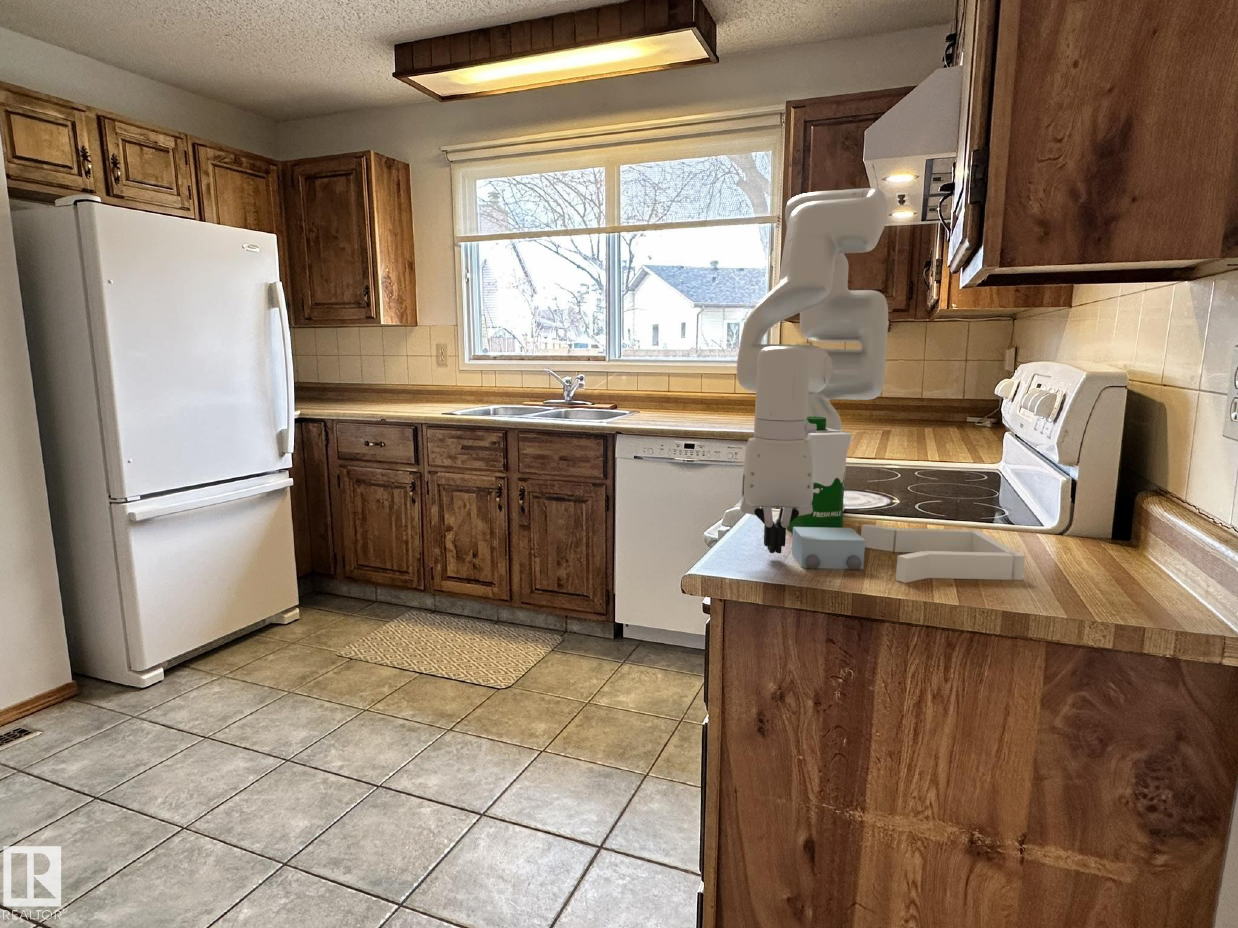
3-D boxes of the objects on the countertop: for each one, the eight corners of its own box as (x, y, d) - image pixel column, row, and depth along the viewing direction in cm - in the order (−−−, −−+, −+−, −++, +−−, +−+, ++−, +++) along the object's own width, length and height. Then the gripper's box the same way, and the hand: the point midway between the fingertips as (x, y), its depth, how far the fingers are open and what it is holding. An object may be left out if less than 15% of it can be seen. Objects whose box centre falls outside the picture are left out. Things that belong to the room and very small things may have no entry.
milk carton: (822, 525, 127) (829, 415, 123) (851, 538, 118) (859, 421, 115) (779, 528, 124) (784, 416, 121) (805, 541, 116) (812, 422, 112)
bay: (857, 544, 114) (859, 523, 114) (968, 546, 114) (970, 525, 113) (899, 582, 96) (901, 558, 95) (1031, 585, 95) (1034, 561, 95)
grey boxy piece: (790, 553, 110) (792, 525, 109) (848, 554, 109) (849, 526, 109) (802, 570, 102) (804, 540, 101) (864, 571, 101) (866, 541, 100)
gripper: (824, 428, 106) (817, 544, 109) (726, 427, 106) (722, 542, 109) (838, 435, 98) (830, 559, 101) (732, 433, 99) (727, 557, 102)
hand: (774, 550), depth 105 cm, fingers closed
